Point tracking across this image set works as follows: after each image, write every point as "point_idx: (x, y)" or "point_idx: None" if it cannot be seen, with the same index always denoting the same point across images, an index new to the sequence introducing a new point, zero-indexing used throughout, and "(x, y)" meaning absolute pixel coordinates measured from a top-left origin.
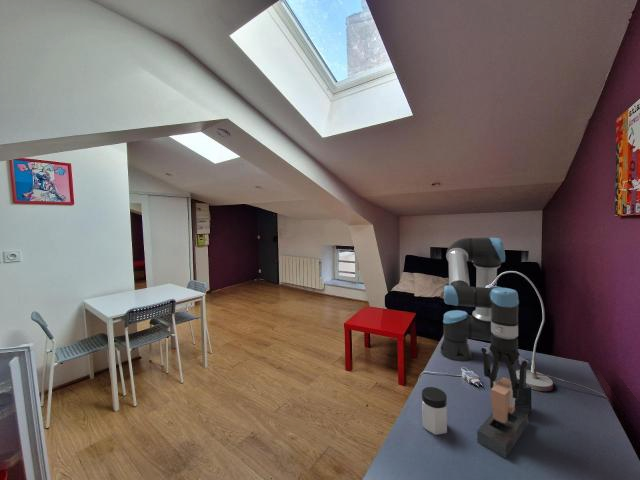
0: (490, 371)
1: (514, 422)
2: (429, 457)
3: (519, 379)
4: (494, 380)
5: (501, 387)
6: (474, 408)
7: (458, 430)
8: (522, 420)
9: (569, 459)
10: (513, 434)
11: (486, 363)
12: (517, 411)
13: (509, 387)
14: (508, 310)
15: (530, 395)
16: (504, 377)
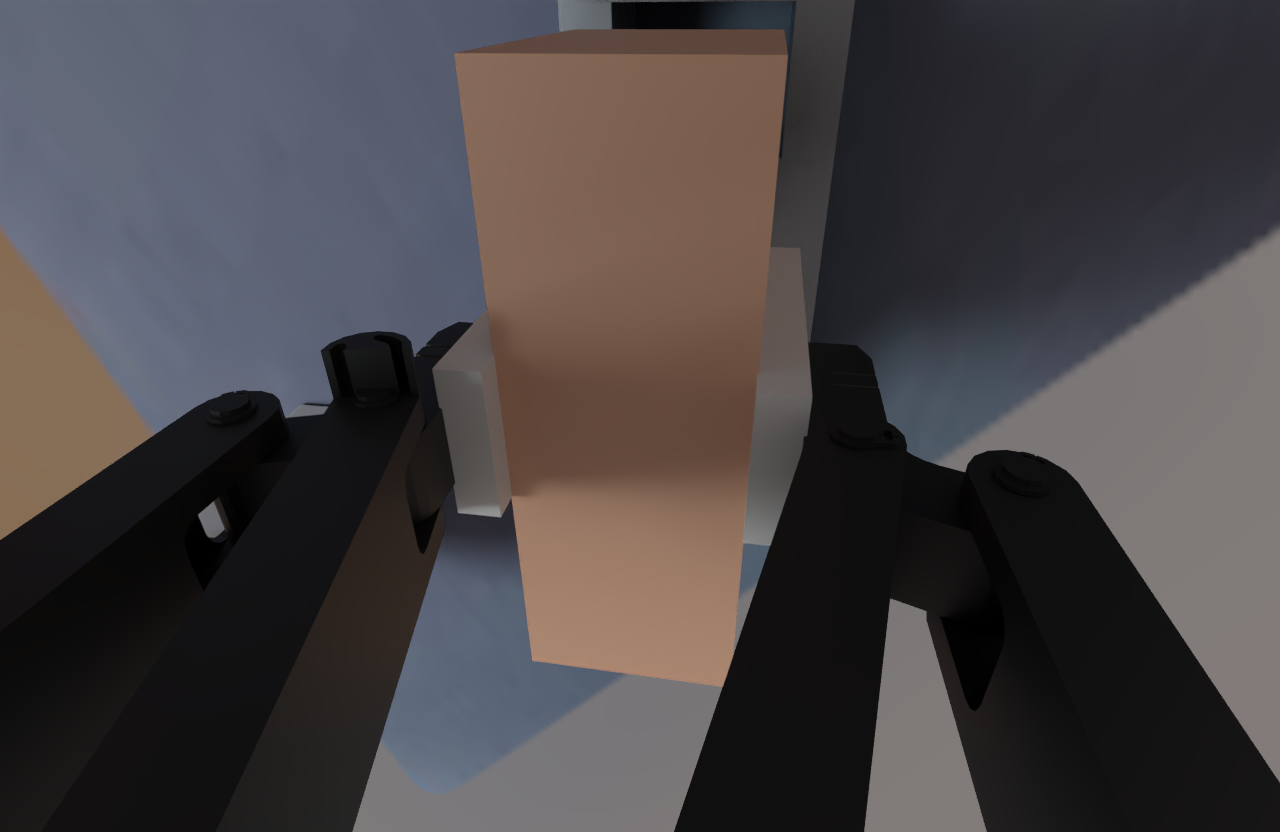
0: (241, 439)
1: (783, 137)
2: (501, 660)
3: (991, 823)
4: (451, 477)
5: (620, 537)
6: (381, 16)
7: None
8: (850, 18)
9: (1244, 88)
10: (810, 332)
11: (53, 812)
12: None
13: (723, 449)
14: None
15: None
16: (488, 53)
